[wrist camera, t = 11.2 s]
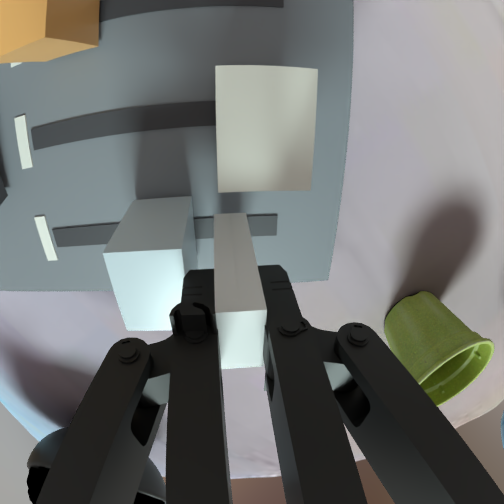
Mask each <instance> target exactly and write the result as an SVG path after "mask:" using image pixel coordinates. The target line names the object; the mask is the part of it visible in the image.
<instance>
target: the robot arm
mask: <svg viewBox="0 0 504 504" xmlns="http://www.w3.org/2000/svg"><path fill="white" fill-rule="evenodd" d="M182 288H183V289H182V296H181V303H179V304H177V305H176V306H175V307H174V308H173V309H172V310H171V312H170V314H169V318H170V322H171V327H172V331H173V334H172V335H171V336H170V337H169V338H167V339H165V340H163V341H160V342H157V343H153V344H150V345H147V344H146V343H145V342H144V341H143V340H141V339H138V338H125V339H121V340H120V341H118V342H116V343H115V344H114V345H113V346H112V347H111V348H110V350H109V351H108V353H107V355H106V357H105V359H104V360H103V362H102V364H101V366H100V368H99V370H98V371H97V373H96V375H95V377H94V379H93V381H92V383H91V385H90V387H89V388H88V390H87V392H86V394H85V396H84V398H83V400H82V402H81V404H80V406H79V408H78V410H77V412H76V414H75V416H74V418H73V420H72V422H71V424H70V426H69V428H68V430H67V432H66V435H65V437H64V439H63V441H62V443H61V445H60V447H59V450H58V452H57V454H56V456H55V459H54V461H53V463H52V465H51V468H50V470H49V472H48V475H47V477H46V479H45V482H44V484H43V487H42V489H41V492H40V494H39V497H38V499H37V502H36V504H133V503H134V500H135V497H136V494H137V491H138V488H139V484H140V481H141V478H142V475H143V472H144V469H145V466H146V463H147V460H148V457H149V454H150V451H151V448H152V445H153V442H154V439H155V436H156V433H157V430H158V427H159V424H160V422H161V419H162V416H163V413H164V410H165V407H166V404H167V403H168V417H167V442H166V504H233V502H232V491H231V482H230V471H229V460H228V449H227V437H226V425H225V412H224V398H223V383H222V372H221V369H231V368H246V367H259V366H263V363H264V364H265V370H266V372H265V384H264V391H267V395H268V400H269V406H270V412H271V418H272V424H273V430H274V435H275V441H276V447H277V453H278V458H279V464H280V470H281V476H282V481H283V487H284V492H285V498H286V503H287V504H367V501H366V497H365V494H364V490H363V487H362V483H361V480H360V476H359V473H358V469H357V466H356V463H355V459H354V456H353V453H352V450H351V446H350V443H349V440H348V436H347V433H346V430H345V427H344V424H345V426H346V428H347V429H348V431H349V432H350V434H351V436H352V437H353V439H354V440H355V442H356V443H357V445H358V447H359V448H360V450H361V451H362V453H363V454H364V456H365V458H366V459H367V460H368V462H369V464H370V465H371V467H372V468H373V470H374V471H375V473H376V475H377V476H378V478H379V479H380V481H381V482H382V484H383V486H384V487H385V489H386V490H387V492H388V493H389V495H390V496H391V498H392V499H393V501H394V502H395V504H504V495H503V493H502V492H501V491H500V489H499V488H498V486H497V485H496V483H495V482H494V481H493V479H492V478H491V476H490V475H489V474H488V472H487V471H486V470H485V469H484V467H483V466H482V464H481V463H480V461H479V460H478V459H477V458H476V456H475V455H474V453H473V452H472V451H471V450H470V448H469V447H468V446H467V444H466V443H465V442H464V440H463V439H462V438H461V436H460V435H459V434H458V432H457V431H456V430H455V429H454V427H453V426H452V425H451V423H450V422H449V421H448V420H447V418H446V417H445V416H444V415H443V413H442V412H441V411H440V410H439V408H438V407H437V406H436V405H435V403H434V402H433V401H432V400H431V398H430V397H429V396H428V395H427V393H426V392H425V391H424V390H423V388H422V387H421V386H420V385H419V384H418V382H417V381H416V380H415V379H414V377H413V376H412V375H411V374H410V373H409V371H408V370H407V369H406V368H405V367H404V365H403V364H402V363H401V362H400V361H399V359H398V358H397V357H396V356H395V355H394V354H393V352H392V351H391V350H390V349H389V348H388V346H387V345H386V344H385V343H384V342H383V341H382V339H381V338H380V337H379V336H378V335H377V334H376V332H375V331H374V330H372V329H371V328H370V327H369V326H367V325H364V324H362V323H355V322H353V323H347V324H345V325H343V326H342V327H341V328H340V329H339V331H338V332H332V331H325V330H320V329H317V328H314V327H312V326H311V325H310V323H309V322H308V321H307V320H306V319H304V318H303V317H302V315H301V312H300V309H299V306H298V303H297V300H296V297H295V294H294V291H293V289H292V286H291V283H290V280H289V277H288V274H287V272H286V271H285V270H284V269H283V268H282V267H281V266H280V265H260V266H257V261H256V257H255V252H254V248H253V243H252V239H251V234H250V229H249V225H248V220H247V216H246V213H228V214H214V269H195V270H189V271H188V273H187V274H186V275H185V277H184V278H183V286H182ZM343 423H344V424H343ZM501 436H502V443H503V448H504V411H503V414H502V418H501Z"/></svg>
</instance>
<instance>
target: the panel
mask: <svg viewBox="0 0 504 504" xmlns="http://www.w3.org/2000/svg"><path fill="white" fill-rule="evenodd" d="M221 65H265V66H287V67H301V68H312V69H318V82H317V105H316V123H315V139H314V154H313V167H312V180H311V191H250V192H223V193H218V174H217V140H216V84H215V66H221ZM352 68H353V0H100V4H99V46H98V47H94V48H90V49H86V50H83V51H79V52H75V53H72V54H68V55H65V56H62V57H58V58H55V59H52V60H49V61H46V62H16V63H1V64H0V176H1V179H2V181H3V184H4V187H5V189H6V192H7V194H8V196H7V197H6V199H5V200H4V201H3V203H2V204H1V205H0V291H114V290H113V287H112V284H111V280H110V277H109V274H108V270H107V267H106V263H105V260H104V256H103V252H104V250H105V248H106V246H107V244H108V243H109V241H110V239H111V237H112V235H113V234H114V232H115V230H116V228H117V227H118V225H119V223H120V222H121V220H122V218H123V217H124V215H125V213H126V212H127V210H128V208H129V207H130V205H131V203H132V202H133V200H142V199H155V198H169V197H184V196H192V207H193V219H194V230H195V240H196V251H197V260H198V269H214V214H228V213H246V216H247V220H248V225H249V229H250V234H251V239H252V243H253V248H254V252H255V257H256V261H257V266H260V265H280V266H281V267H282V268H283V269H284V270H285V271H286V272H287V274H288V277H289V280H290V283H295V282H309V281H323V280H328V278H329V272H330V266H331V261H332V255H333V249H334V243H335V237H336V230H337V223H338V217H339V210H340V202H341V195H342V187H343V179H344V170H345V161H346V152H347V142H348V131H349V119H350V105H351V89H352Z"/></svg>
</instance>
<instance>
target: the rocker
mask: <svg viewBox="0 0 504 504" xmlns="http://www.w3.org/2000/svg"><path fill="white" fill-rule="evenodd" d="M7 196H8V194H7V192H6V189H5V187H4V184H3V181H2V179H1V176H0V205H1V204H2V203H3V201H4V200H5V199H6V197H7Z"/></svg>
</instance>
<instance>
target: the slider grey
mask: <svg viewBox="0 0 504 504" xmlns="http://www.w3.org/2000/svg"><path fill="white" fill-rule="evenodd" d="M103 256H104V260H105V263H106V267H107V270H108V274H109V277H110V280H111V284H112V287H113V290H114V293H115V296H116V299H117V302H118V305H119V308H120V311H121V314H122V317H123V320H124V323H125V326H126V328H127V331H155V330H172V327H171V322H170V318H169V314H170V312H171V310H172V309H173V308H174V307H175V306H176V305H177V304H179V303H181V296H182V289H183V288H182V286H183V278H184V277H185V275H186V274H187V273H188V271H189V270H195V269H198V260H197V251H196V240H195V230H194V219H193V207H192V196H184V197H169V198H155V199H142V200H133V202H132V203H131V205H130V207H129V208H128V210H127V212H126V213H125V215H124V217H123V218H122V220H121V222H120V223H119V225H118V227H117V228H116V230H115V232H114V234H113V235H112V237H111V239H110V241H109V243H108V244H107V246H106V248H105V250H104V252H103Z"/></svg>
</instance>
